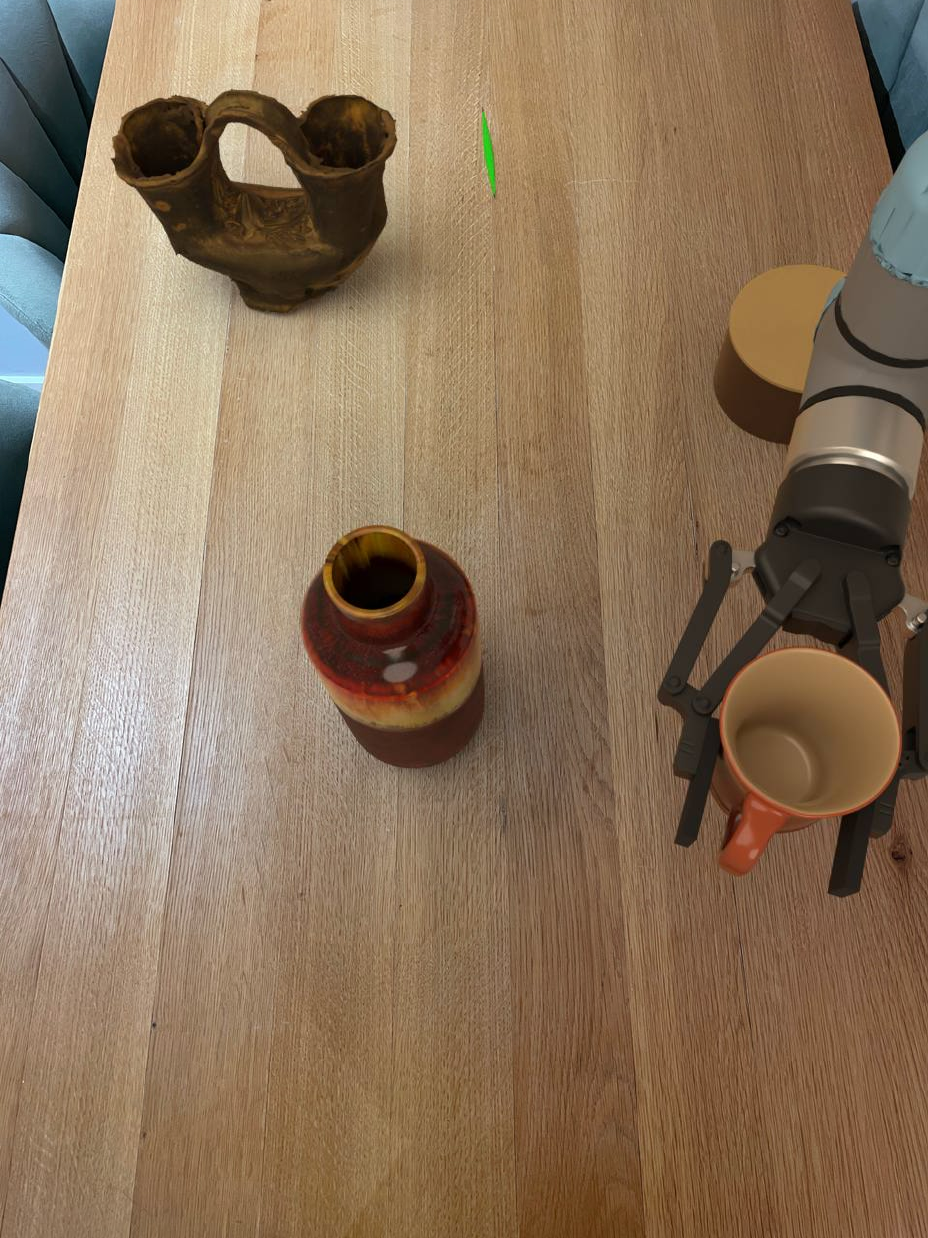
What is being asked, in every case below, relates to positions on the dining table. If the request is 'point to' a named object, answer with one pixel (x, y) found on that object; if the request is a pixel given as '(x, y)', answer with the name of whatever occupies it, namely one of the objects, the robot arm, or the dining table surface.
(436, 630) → the vase
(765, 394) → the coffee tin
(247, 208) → the pottery vessel
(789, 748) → the mug
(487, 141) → the leaf
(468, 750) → the dining table surface
